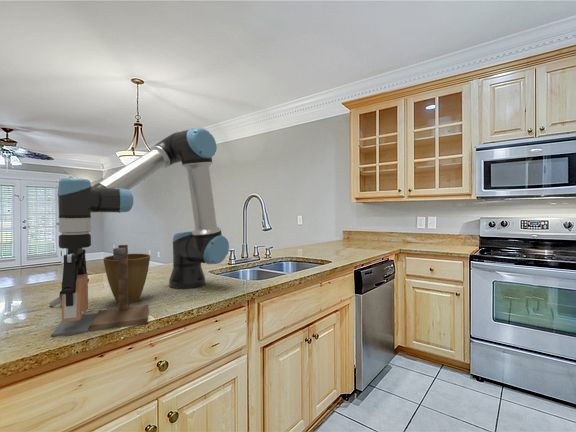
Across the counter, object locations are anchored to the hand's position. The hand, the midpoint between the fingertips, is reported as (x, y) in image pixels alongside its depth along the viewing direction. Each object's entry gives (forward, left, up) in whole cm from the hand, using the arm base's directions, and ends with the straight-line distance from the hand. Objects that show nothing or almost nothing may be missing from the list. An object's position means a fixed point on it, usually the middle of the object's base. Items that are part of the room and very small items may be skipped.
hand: (75, 311), depth 87 cm
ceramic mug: (+7, -25, -4) cm, 26 cm away
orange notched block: (0, 0, -1) cm, 1 cm away
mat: (0, 0, -4) cm, 4 cm away
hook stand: (-12, 0, -4) cm, 12 cm away
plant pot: (-12, -21, -4) cm, 24 cm away
